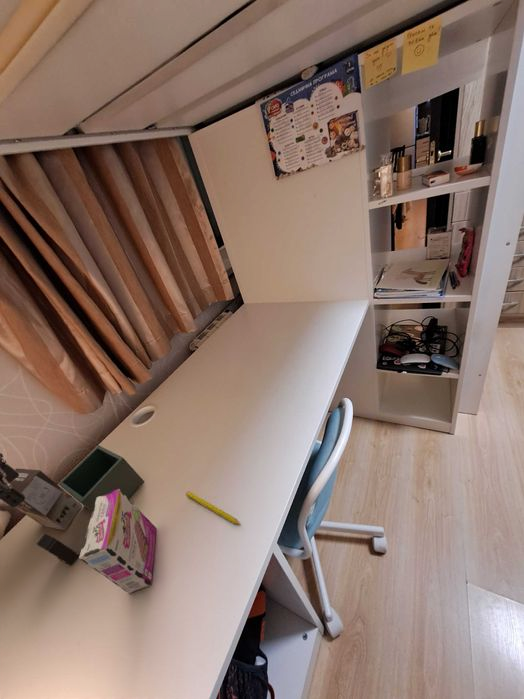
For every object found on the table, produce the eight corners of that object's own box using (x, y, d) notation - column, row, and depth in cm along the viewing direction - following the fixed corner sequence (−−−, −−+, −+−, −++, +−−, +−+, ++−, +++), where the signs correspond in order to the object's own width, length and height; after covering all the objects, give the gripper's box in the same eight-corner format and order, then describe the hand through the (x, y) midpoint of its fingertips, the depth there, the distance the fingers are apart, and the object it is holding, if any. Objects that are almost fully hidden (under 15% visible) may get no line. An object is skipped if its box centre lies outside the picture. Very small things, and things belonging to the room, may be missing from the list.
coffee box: (83, 504, 76) (41, 469, 67) (65, 530, 71) (17, 496, 62) (59, 501, 79) (16, 467, 70) (40, 526, 74) (-9, 493, 65)
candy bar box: (153, 585, 56) (106, 549, 47) (129, 595, 55) (76, 560, 46) (158, 526, 65) (119, 487, 56) (137, 534, 65) (94, 496, 56)
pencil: (187, 496, 69) (185, 494, 69) (189, 492, 70) (188, 490, 69) (240, 527, 60) (238, 525, 59) (242, 523, 60) (241, 521, 60)
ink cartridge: (58, 559, 65) (34, 543, 61) (67, 548, 67) (44, 532, 62) (71, 567, 63) (47, 551, 59) (80, 555, 64) (56, 539, 60)
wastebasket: (83, 505, 75) (57, 483, 69) (119, 467, 83) (98, 445, 77) (108, 524, 69) (81, 501, 63) (144, 481, 76) (123, 457, 71)
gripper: (-78, 436, 51) (-8, 485, 60) (-87, 477, 42) (-1, 529, 50) (-29, 408, 55) (31, 458, 64) (-27, 440, 45) (43, 494, 54)
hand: (16, 489), depth 57 cm, fingers open, 8 cm apart
